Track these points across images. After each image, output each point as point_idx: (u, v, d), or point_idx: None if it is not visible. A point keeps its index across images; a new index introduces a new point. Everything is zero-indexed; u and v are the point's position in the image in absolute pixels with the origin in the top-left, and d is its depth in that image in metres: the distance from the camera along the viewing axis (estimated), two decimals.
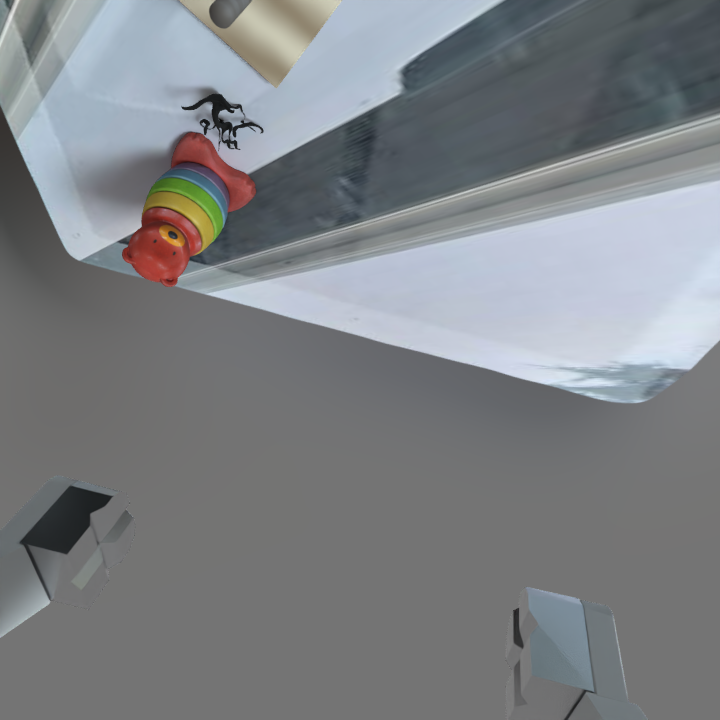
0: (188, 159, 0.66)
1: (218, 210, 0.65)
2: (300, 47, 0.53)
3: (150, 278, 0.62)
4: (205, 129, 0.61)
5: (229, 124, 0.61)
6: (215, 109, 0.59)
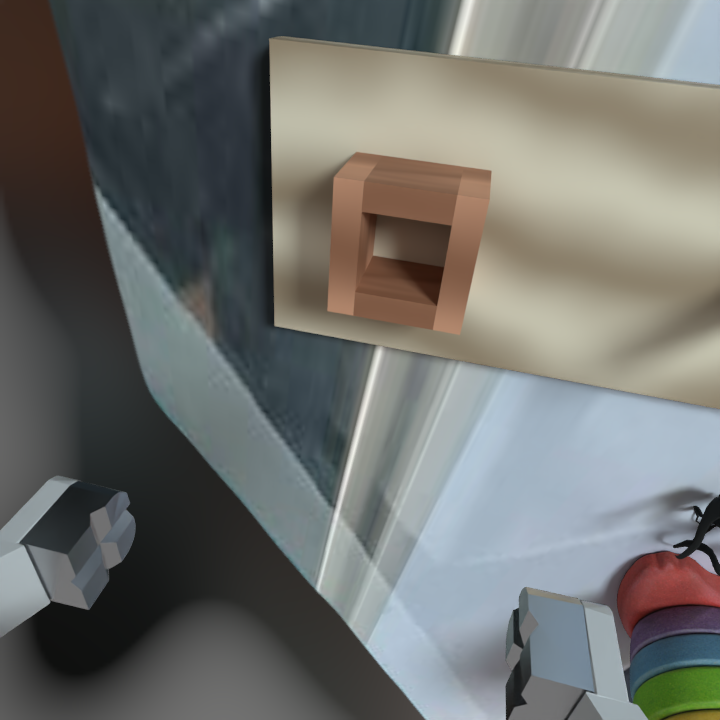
0: (664, 604, 0.35)
1: None
2: None
3: None
4: (718, 567, 0.31)
5: None
6: None
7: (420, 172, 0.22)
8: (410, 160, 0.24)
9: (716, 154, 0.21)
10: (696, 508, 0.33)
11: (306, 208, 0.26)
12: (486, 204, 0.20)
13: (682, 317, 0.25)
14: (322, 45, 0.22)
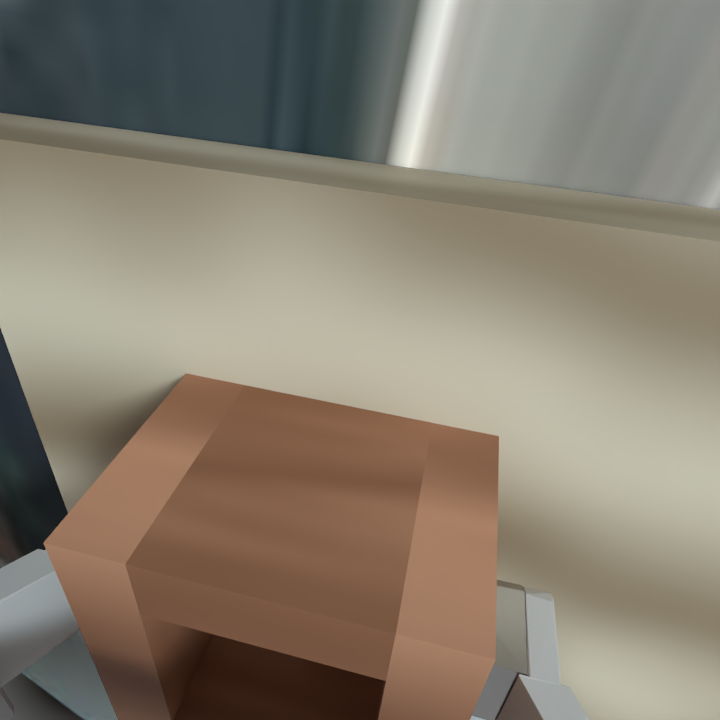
0: None
1: None
2: None
3: None
4: None
5: None
6: None
7: (315, 473, 0.09)
8: (305, 404, 0.10)
9: None
10: None
11: (109, 457, 0.12)
12: (485, 665, 0.07)
13: None
14: (54, 148, 0.08)
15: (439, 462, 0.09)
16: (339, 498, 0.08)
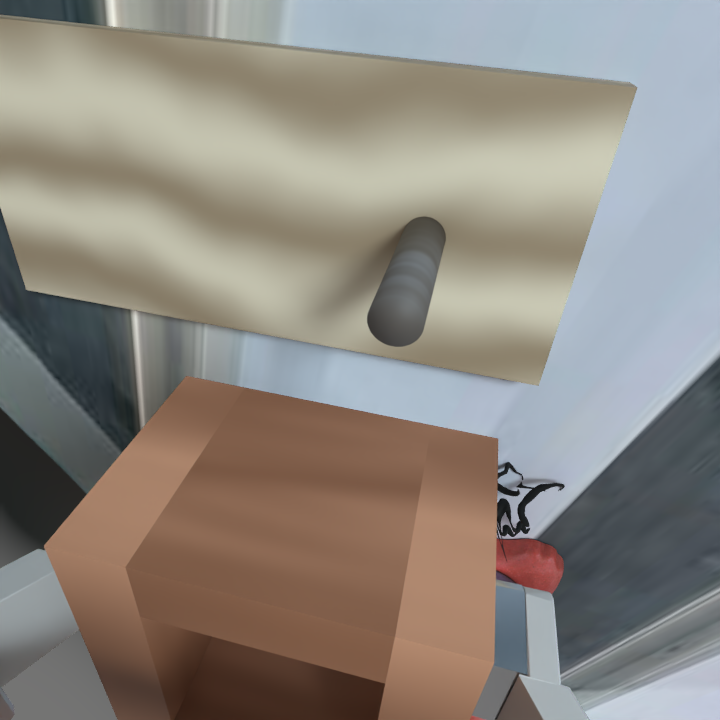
0: None
1: None
2: (558, 291, 0.25)
3: None
4: None
5: (504, 504, 0.33)
6: None
7: (315, 475, 0.09)
8: (305, 406, 0.10)
9: (332, 114, 0.23)
10: None
11: (17, 173, 0.28)
12: (484, 668, 0.07)
13: (357, 273, 0.27)
14: None
15: (438, 465, 0.09)
16: (338, 501, 0.08)
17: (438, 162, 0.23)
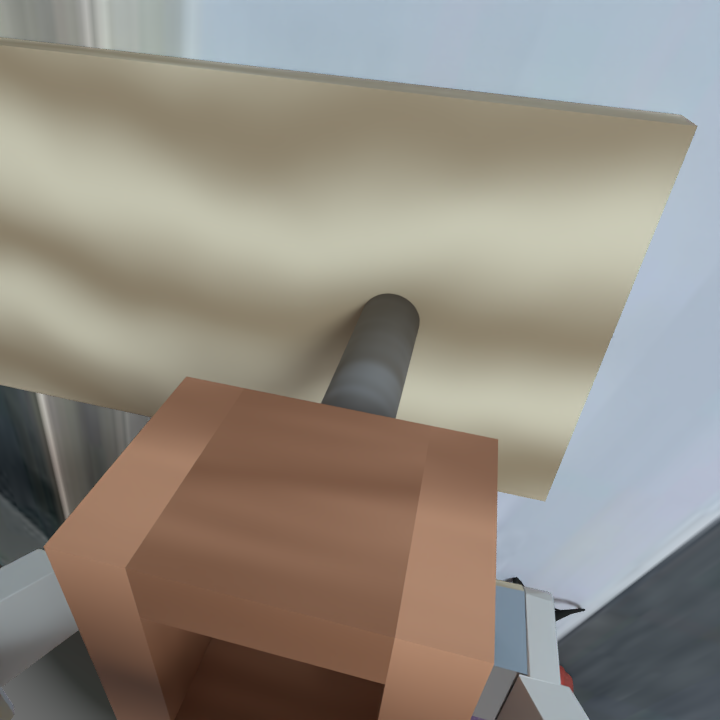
0: None
1: None
2: (573, 393, 0.18)
3: None
4: None
5: None
6: None
7: (314, 476, 0.09)
8: (305, 407, 0.10)
9: (256, 157, 0.16)
10: None
11: None
12: (484, 669, 0.07)
13: (304, 359, 0.20)
14: None
15: (438, 465, 0.09)
16: (338, 502, 0.08)
17: (407, 224, 0.16)
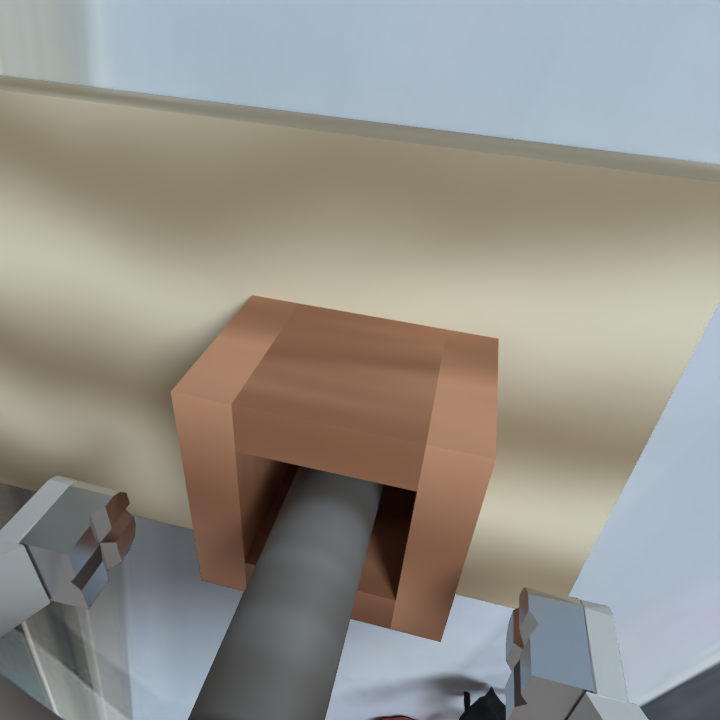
0: None
1: None
2: (594, 505, 0.15)
3: None
4: None
5: None
6: None
7: (360, 357, 0.11)
8: (348, 316, 0.13)
9: (184, 216, 0.12)
10: (465, 697, 0.24)
11: None
12: (489, 465, 0.09)
13: None
14: None
15: (453, 353, 0.12)
16: (379, 372, 0.11)
17: (380, 302, 0.13)
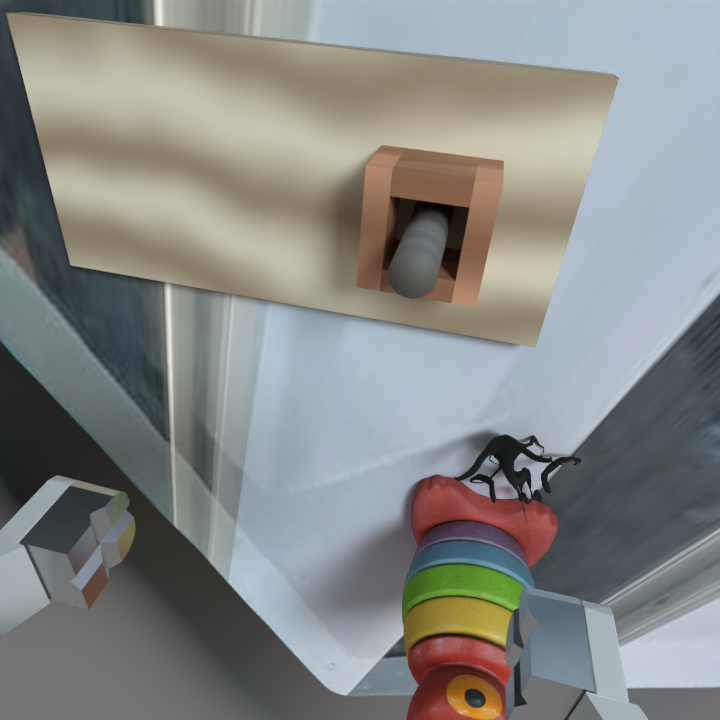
0: (436, 521, 0.40)
1: (521, 589, 0.35)
2: (552, 260, 0.28)
3: None
4: (493, 494, 0.36)
5: (527, 472, 0.36)
6: (508, 462, 0.34)
7: (441, 161, 0.25)
8: (431, 152, 0.26)
9: (354, 102, 0.26)
10: None
11: (68, 157, 0.31)
12: (500, 188, 0.23)
13: None
14: (46, 17, 0.27)
15: (482, 163, 0.25)
16: (451, 165, 0.25)
17: (447, 144, 0.26)
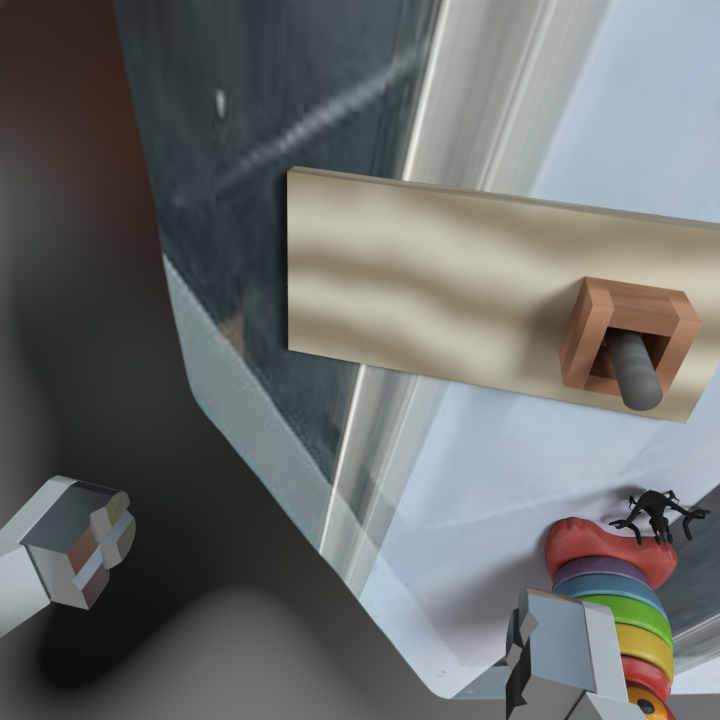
0: (573, 556, 0.48)
1: (660, 616, 0.43)
2: (711, 361, 0.36)
3: None
4: (640, 539, 0.44)
5: (667, 521, 0.44)
6: (659, 515, 0.42)
7: (641, 296, 0.33)
8: (625, 283, 0.34)
9: (567, 246, 0.34)
10: (631, 497, 0.45)
11: (310, 272, 0.39)
12: (699, 325, 0.31)
13: None
14: (320, 176, 0.35)
15: (671, 295, 0.33)
16: (651, 300, 0.32)
17: (639, 278, 0.34)
